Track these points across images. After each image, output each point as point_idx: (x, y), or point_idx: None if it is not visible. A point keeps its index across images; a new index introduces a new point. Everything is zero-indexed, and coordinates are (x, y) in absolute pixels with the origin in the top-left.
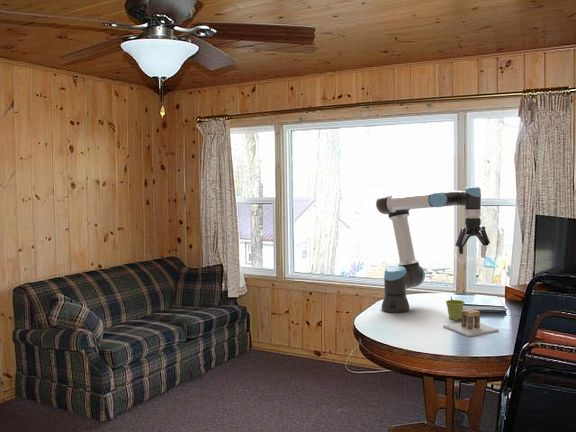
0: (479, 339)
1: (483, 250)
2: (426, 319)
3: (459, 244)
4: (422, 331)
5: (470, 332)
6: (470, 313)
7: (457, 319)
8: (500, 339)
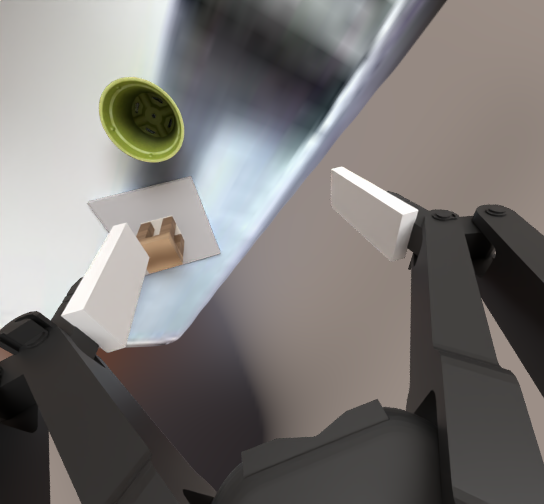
0: (159, 287)
1: (362, 223)
2: (29, 90)
3: (15, 421)
4: (14, 224)
5: None
6: (151, 271)
7: (156, 137)
8: (199, 289)
